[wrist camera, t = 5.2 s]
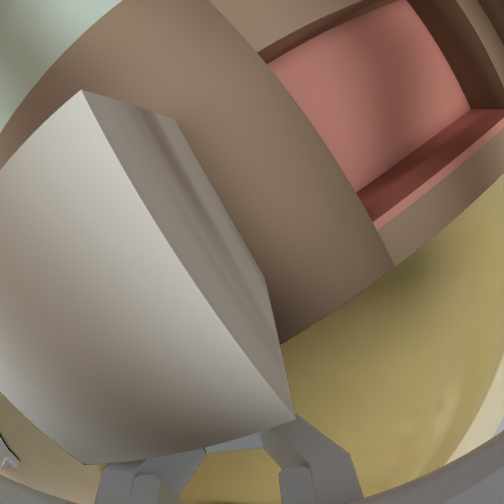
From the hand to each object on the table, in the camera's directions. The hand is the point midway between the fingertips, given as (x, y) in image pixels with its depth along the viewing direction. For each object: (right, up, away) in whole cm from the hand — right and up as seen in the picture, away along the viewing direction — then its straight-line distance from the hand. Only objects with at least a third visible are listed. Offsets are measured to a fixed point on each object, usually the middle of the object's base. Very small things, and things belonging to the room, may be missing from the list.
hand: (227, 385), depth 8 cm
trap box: (-1, +11, +1) cm, 11 cm away
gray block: (-2, +4, 0) cm, 5 cm away
